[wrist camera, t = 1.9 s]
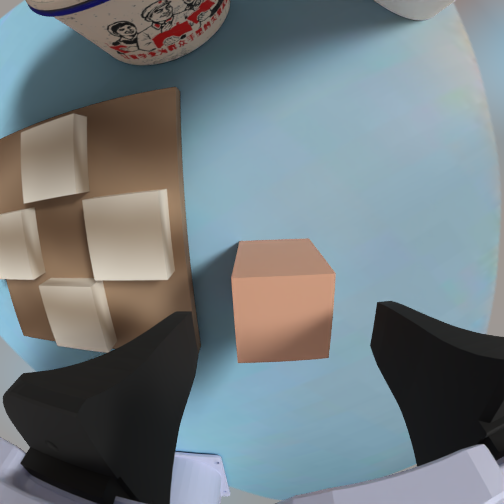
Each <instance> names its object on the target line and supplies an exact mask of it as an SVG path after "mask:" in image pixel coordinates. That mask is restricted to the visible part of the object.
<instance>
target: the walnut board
mask: <svg viewBox="0 0 504 504" xmlns="http://www.w3.org/2000/svg"><path fill="white" fill-rule="evenodd" d="M0 279H6V281H7V285H8V288H9V292H10V296H11V299H12V302H13V306H14V309H15V312H16V315H17V318H18V321H19V324H20V327H21V329H22V332H23V335H24V336H28V337H33V338H39V339H45V340H50V341H56V343H57V346H62V347H68V348H75V349H82V350H89V351H97V352H106V353H108V352H110V350H111V349H117V348H119V347H121V346H123V345H124V344H126V343H128V342H130V341H131V340H133V339H135V338H136V337H138V336H139V335H141V334H143V333H144V332H146V331H147V330H149V329H150V328H152V327H153V326H155V325H156V324H158V323H159V322H160V321H162V320H163V319H165V318H166V317H168V316H169V315H171V314H172V313H174V312H176V311H192V317H193V324H194V331H195V337H196V344H197V350H198V354H199V350H200V347H201V343H200V336H199V329H198V322H197V315H196V307H195V300H194V291H193V283H192V275H191V265H190V256H189V246H188V235H187V224H186V212H185V199H184V184H183V166H182V145H181V112H180V91H179V90H178V88H177V87H171V88H165V89H159V90H153V91H148V92H143V93H138V94H133V95H128V96H124V97H120V98H116V99H112V100H108V101H104V102H100V103H96V104H93V105H89V106H86V107H83V108H79V109H76V110H73V111H70V112H67V113H64V114H61V115H58V116H55V117H52V118H49V119H47V120H44V121H41V122H39V123H36V124H34V125H31V126H29V127H26V128H24V129H22V130H19V131H17V132H15V133H12V134H10V135H8V136H6V137H4V138H2V139H0Z"/></svg>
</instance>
